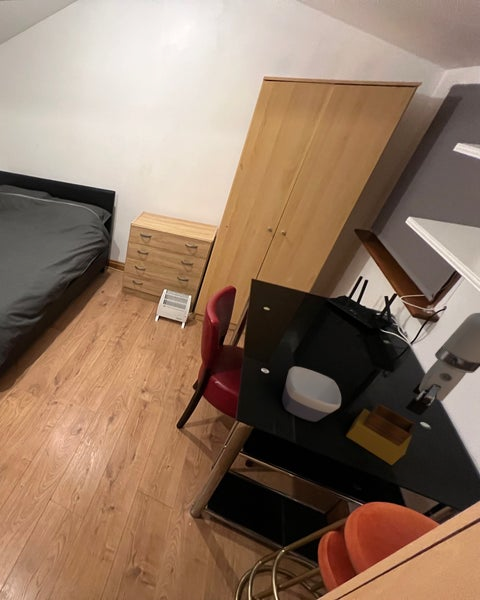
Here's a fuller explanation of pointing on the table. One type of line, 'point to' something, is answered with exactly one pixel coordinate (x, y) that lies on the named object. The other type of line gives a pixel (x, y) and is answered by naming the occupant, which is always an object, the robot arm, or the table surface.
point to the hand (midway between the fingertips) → (416, 402)
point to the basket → (389, 424)
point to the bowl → (310, 394)
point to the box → (375, 441)
